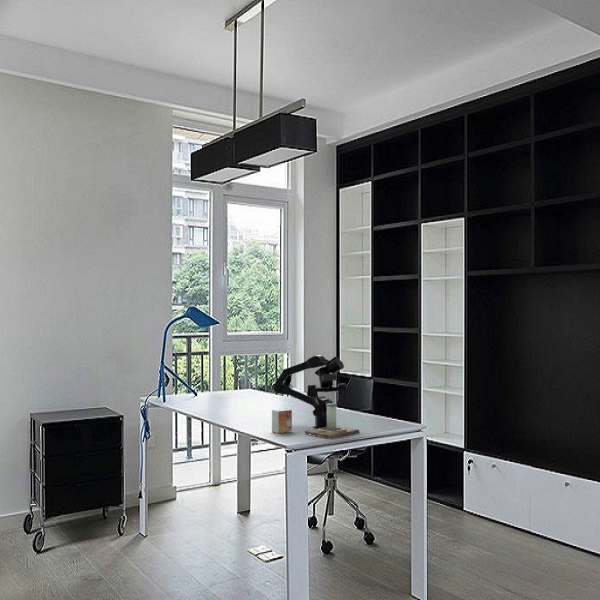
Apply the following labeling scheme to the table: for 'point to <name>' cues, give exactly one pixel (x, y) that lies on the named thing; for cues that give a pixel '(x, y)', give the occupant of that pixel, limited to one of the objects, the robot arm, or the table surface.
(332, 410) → the bobbin
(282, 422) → the small box
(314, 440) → the table surface
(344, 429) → the notched board
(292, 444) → the table surface
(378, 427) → the table surface
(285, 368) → the robot arm
